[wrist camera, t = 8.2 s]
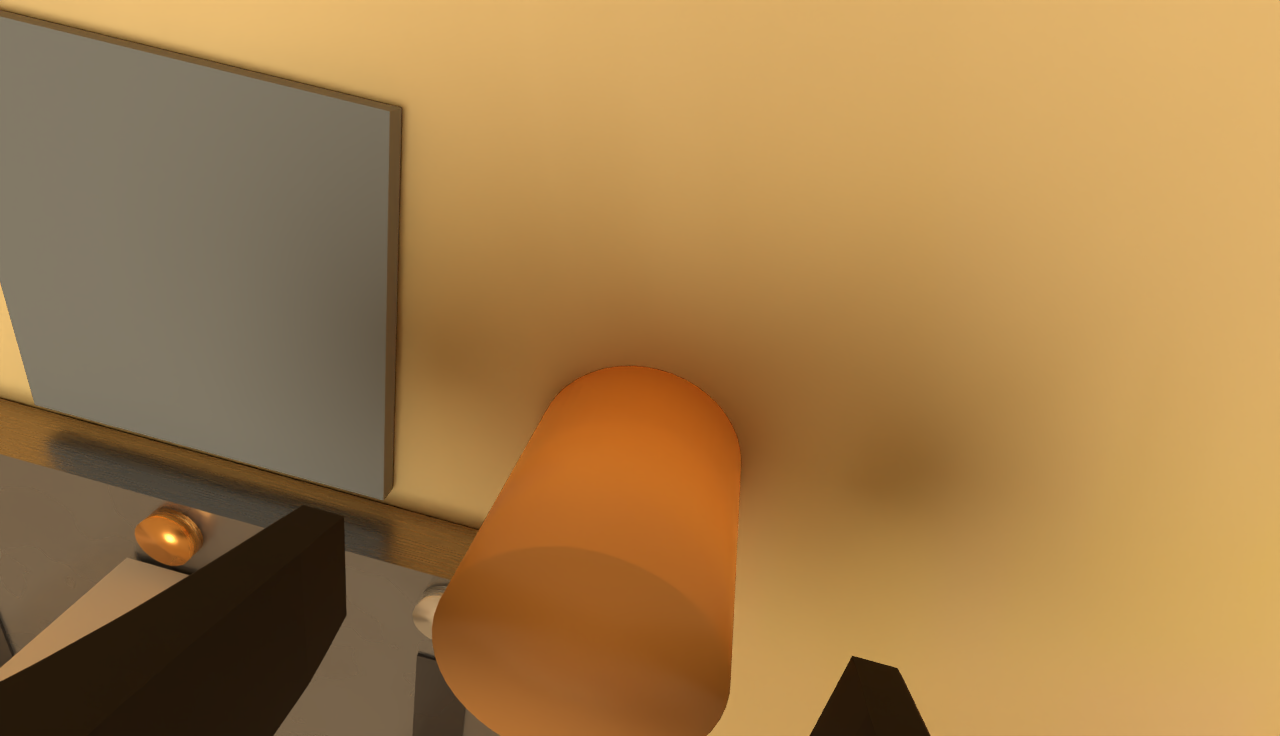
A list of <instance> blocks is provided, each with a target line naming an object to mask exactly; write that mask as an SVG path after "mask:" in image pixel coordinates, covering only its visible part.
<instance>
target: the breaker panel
mask: <svg viewBox="0 0 1280 736" xmlns="http://www.w3.org/2000/svg"><path fill="white" fill-rule="evenodd" d="M302 505H305V506H308V507H312V508H316V509H319V510H323V511H327V512H330V513H334V514H338V515H341V516H344V528H345V569H346V609H347V616H346V618H345V619H344V621H343V623H342V625H341V627H340V629H339V631H338V633H337V634H336V636H335V638H334V640H333V642H332V644H331V646H330V648H329V649H328V651H327V653H326V655H325V657H324V658H323V660H322V662H321V664H320V666H319V667H318V669H317V671H316V673H315V674H314V676H313V678H312V680H311V682H310V683H309V685H308V686H307V688H306V689H305V691H304V692H303V694H302V695H301V697H300V698H299V700H298V701H297V703H296V704H295V705H294V707H293V708H292V710H291V711H290V713H289V714H288V716H287V717H286V718H285V720H284V721H283V723H282V724H281V726H280V727H279V729H278V730H277V731H276V733H275V734H274V736H500V735H499V734H497V733H495V732H494V731H492V730H491V729H490V728H488V727H487V726H486V725H484V724H483V723H482V722H481V721H479V720H478V719H477V718H476V717H475V716H474V715H473V714H472V713H471V712H469V711H468V710H467V709H466V708H465V706H464V705H463V704H462V703H461V702H460V701H459V700H458V698H457V697H456V696H455V695H454V693H453V692H452V690H451V689H450V687H449V686H448V685H447V683H446V681H445V679H444V677H443V675H442V673H441V671H440V669H439V667H438V664H437V661H436V658H435V655H434V649H433V644H432V624H433V618H434V613H435V611H436V608H437V605H438V602H439V600H440V598H441V597H442V595H443V593H444V591H445V590H446V588H447V586H448V584H449V582H450V581H451V579H452V577H453V575H454V574H455V572H456V570H457V568H458V566H459V565H460V563H461V561H462V559H463V558H464V556H465V554H466V552H467V550H468V549H469V547H470V545H471V543H472V542H473V540H474V538H475V536H476V534H477V533H478V531H479V530H476V529H473V528H469V527H465V526H462V525H458V524H454V523H451V522H447V521H444V520H440V519H436V518H433V517H429V516H425V515H422V514H418V513H414V512H411V511H407V510H404V509H400V508H396V507H393V506H389V505H385V504H382V503H378V502H374V501H371V500H367V499H364V498H360V497H356V496H353V495H349V494H345V493H342V492H338V491H334V490H331V489H327V488H324V487H320V486H316V485H313V484H309V483H305V482H302V481H298V480H295V479H291V478H287V477H284V476H280V475H276V474H273V473H269V472H265V471H262V470H258V469H255V468H251V467H247V466H244V465H240V464H236V463H233V462H229V461H225V460H222V459H218V458H215V457H211V456H207V455H204V454H200V453H196V452H193V451H189V450H185V449H182V448H178V447H175V446H171V445H167V444H164V443H160V442H156V441H153V440H149V439H145V438H142V437H138V436H135V435H131V434H127V433H124V432H120V431H116V430H113V429H109V428H106V427H102V426H98V425H95V424H91V423H87V422H84V421H80V420H76V419H73V418H69V417H66V416H62V415H58V414H55V413H51V412H47V411H44V410H40V409H36V408H33V407H29V406H26V405H22V404H18V403H15V402H11V401H7V400H4V399H0V668H1V667H2V666H3V665H4V664H5V663H6V662H8V661H9V660H10V659H11V658H12V657H13V656H14V655H16V654H17V653H18V652H19V651H20V650H21V649H23V648H24V647H25V646H26V645H27V644H28V643H29V642H31V641H32V640H33V639H34V638H35V637H36V636H37V635H39V634H40V633H41V632H42V631H43V630H44V629H45V628H47V627H48V626H49V625H50V624H51V623H52V622H53V621H55V620H56V619H57V618H58V617H59V616H60V615H62V614H63V613H64V612H65V611H66V610H67V609H68V608H70V607H71V606H72V605H73V604H74V603H75V602H76V601H78V600H79V599H80V598H81V597H82V596H83V595H84V594H86V593H87V592H88V591H89V590H90V589H91V588H92V587H94V586H95V585H96V584H97V583H98V582H99V581H100V580H102V579H103V578H104V577H105V576H106V575H107V574H109V573H110V572H111V571H112V570H113V569H114V568H115V567H117V566H118V565H119V564H120V563H121V562H122V561H123V560H125V559H126V558H130V559H134V560H137V561H141V562H144V563H148V564H151V565H155V566H158V567H162V568H165V569H169V570H172V571H176V572H179V573H183V574H186V575H191V574H192V573H194V572H195V571H197V570H199V569H200V568H202V567H204V566H205V565H207V564H208V563H210V562H212V561H213V560H215V559H216V558H218V557H220V556H221V555H223V554H225V553H226V552H228V551H229V550H231V549H233V548H234V547H236V546H237V545H239V544H241V543H242V542H244V541H245V540H247V539H249V538H250V537H252V536H253V535H255V534H256V533H258V532H260V531H261V530H263V529H264V528H266V527H268V526H269V525H271V524H272V523H274V522H276V521H277V520H279V519H281V518H282V517H284V516H285V515H287V514H289V513H290V512H292V511H294V510H295V509H297V508H299V507H301V506H302Z"/></svg>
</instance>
